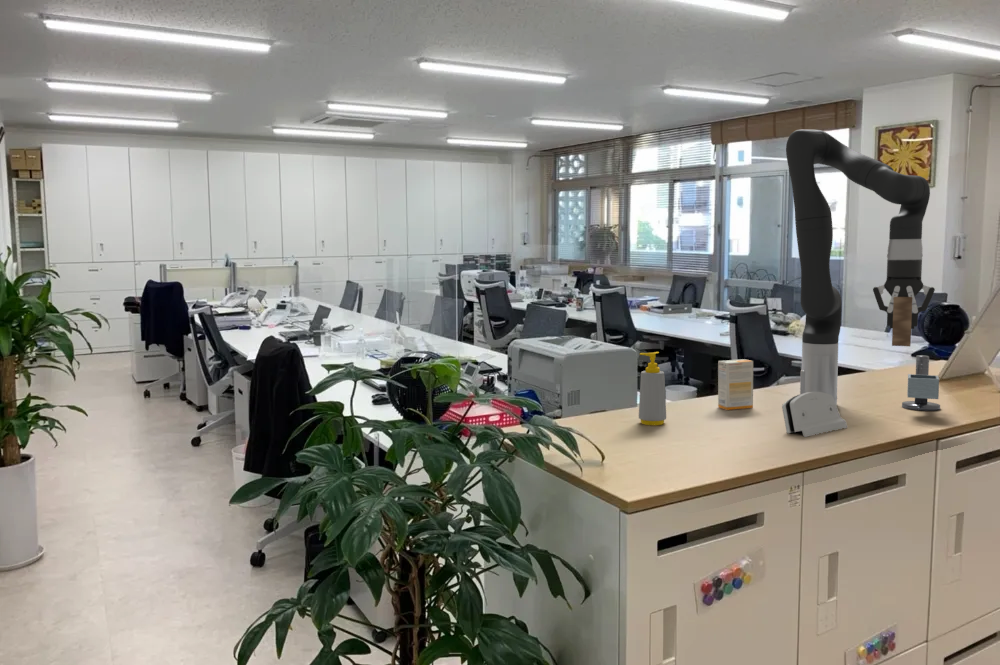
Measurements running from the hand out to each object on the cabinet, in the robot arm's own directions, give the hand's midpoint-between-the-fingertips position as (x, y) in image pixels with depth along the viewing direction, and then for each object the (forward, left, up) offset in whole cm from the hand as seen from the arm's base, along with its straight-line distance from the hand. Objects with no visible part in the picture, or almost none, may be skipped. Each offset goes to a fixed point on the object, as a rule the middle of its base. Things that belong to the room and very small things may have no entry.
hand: (901, 327), depth 188 cm
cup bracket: (+5, +15, -23) cm, 28 cm away
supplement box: (-40, +1, -23) cm, 46 cm away
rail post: (0, 0, -4) cm, 4 cm away
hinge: (-18, -19, -24) cm, 35 cm away
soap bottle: (-55, -27, -23) cm, 65 cm away
